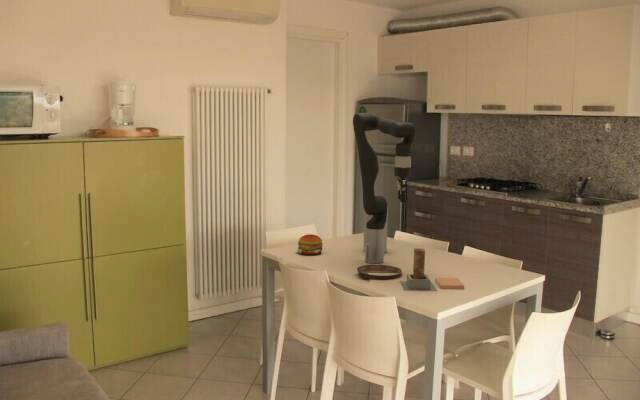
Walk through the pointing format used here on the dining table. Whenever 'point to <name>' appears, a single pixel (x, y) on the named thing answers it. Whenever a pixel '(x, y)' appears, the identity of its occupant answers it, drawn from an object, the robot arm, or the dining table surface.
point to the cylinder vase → (366, 219)
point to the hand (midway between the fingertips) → (401, 200)
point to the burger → (310, 244)
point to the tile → (449, 283)
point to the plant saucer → (378, 271)
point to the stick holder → (417, 284)
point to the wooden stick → (419, 263)
